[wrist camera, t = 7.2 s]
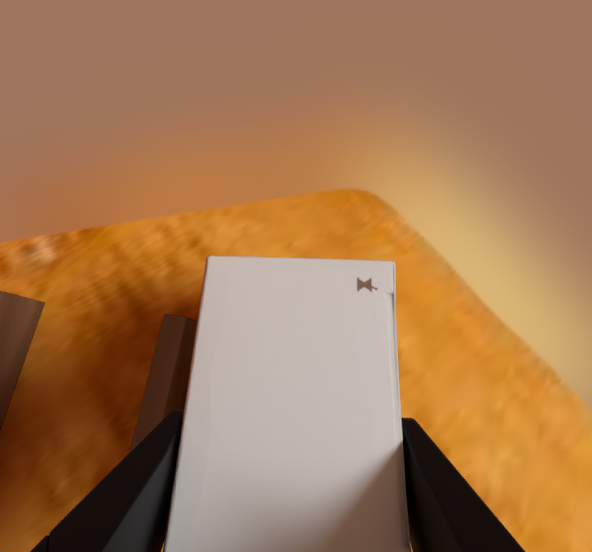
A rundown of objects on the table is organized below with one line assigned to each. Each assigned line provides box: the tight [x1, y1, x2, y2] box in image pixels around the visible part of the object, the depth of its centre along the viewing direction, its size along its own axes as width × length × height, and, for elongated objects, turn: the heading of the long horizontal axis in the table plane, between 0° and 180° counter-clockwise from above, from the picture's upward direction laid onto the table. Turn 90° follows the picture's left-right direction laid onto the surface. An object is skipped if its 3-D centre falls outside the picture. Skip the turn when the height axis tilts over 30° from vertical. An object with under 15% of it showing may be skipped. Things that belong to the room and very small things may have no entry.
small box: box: [163, 256, 411, 552], centre depth 13 cm, size 8×6×10 cm
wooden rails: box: [0, 291, 197, 453], centre depth 17 cm, size 11×14×3 cm
